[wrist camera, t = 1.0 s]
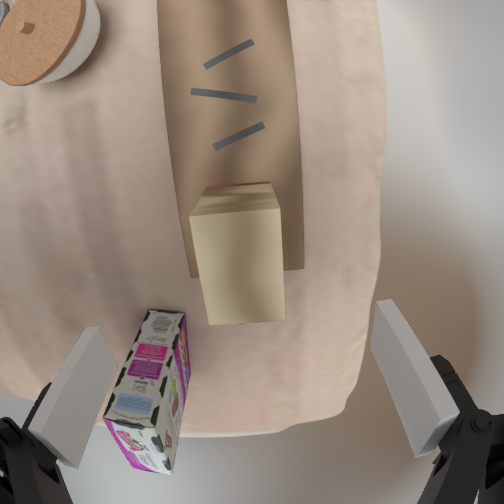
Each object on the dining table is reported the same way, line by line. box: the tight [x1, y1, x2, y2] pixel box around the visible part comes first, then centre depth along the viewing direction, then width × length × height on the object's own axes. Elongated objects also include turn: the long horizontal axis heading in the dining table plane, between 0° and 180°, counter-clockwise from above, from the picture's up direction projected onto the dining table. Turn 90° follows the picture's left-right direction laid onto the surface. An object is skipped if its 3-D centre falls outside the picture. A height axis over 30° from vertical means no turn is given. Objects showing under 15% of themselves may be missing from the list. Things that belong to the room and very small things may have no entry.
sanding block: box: [189, 181, 285, 325], centre depth 26 cm, size 6×9×9 cm, turn 5°
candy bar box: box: [102, 310, 190, 475], centre depth 29 cm, size 11×5×16 cm, turn 177°
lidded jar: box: [0, 0, 101, 86], centre depth 17 cm, size 11×11×9 cm
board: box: [157, 0, 304, 278], centre depth 26 cm, size 12×30×1 cm, turn 5°
